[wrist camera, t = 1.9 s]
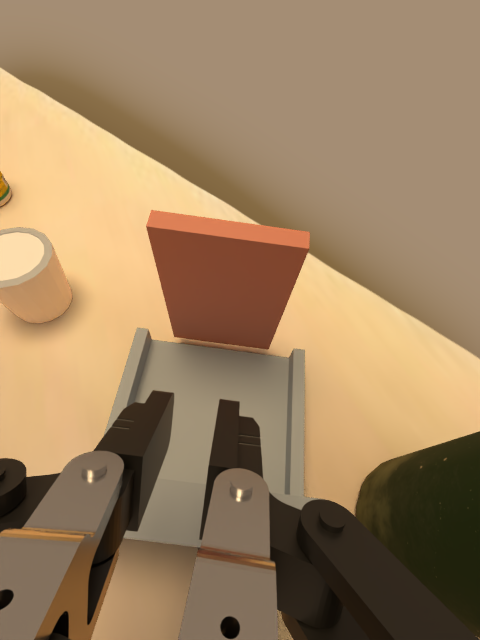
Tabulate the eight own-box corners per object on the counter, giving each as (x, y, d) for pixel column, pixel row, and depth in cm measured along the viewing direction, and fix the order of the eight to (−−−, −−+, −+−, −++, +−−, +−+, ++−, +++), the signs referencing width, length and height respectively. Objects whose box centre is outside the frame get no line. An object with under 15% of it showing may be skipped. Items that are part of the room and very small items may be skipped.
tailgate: (268, 349, 32) (309, 248, 18) (174, 336, 32) (146, 226, 18) (269, 332, 32) (309, 224, 19) (178, 320, 32) (153, 202, 19)
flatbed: (290, 549, 25) (326, 563, 18) (94, 524, 25) (43, 528, 17) (294, 367, 33) (321, 321, 25) (144, 347, 33) (125, 295, 25)
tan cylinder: (92, 297, 35) (68, 252, 29) (35, 341, 32) (-5, 301, 26) (51, 263, 37) (20, 215, 31) (-7, 302, 34) (-53, 256, 28)
